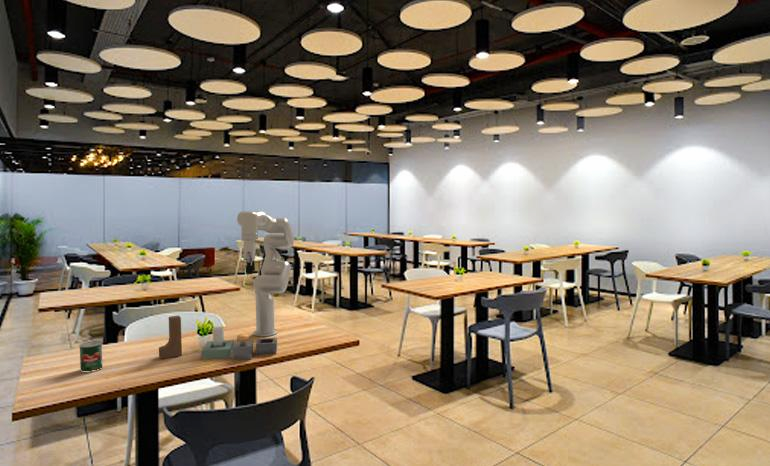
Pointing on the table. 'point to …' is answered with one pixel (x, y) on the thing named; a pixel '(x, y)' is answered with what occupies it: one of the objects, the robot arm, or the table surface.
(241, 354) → the release housing
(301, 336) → the table surface
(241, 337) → the release button
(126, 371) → the table surface
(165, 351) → the wooden block
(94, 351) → the canned tomato
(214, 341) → the steel peg
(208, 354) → the green recessed block
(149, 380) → the table surface
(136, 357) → the table surface
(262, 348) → the socket block
